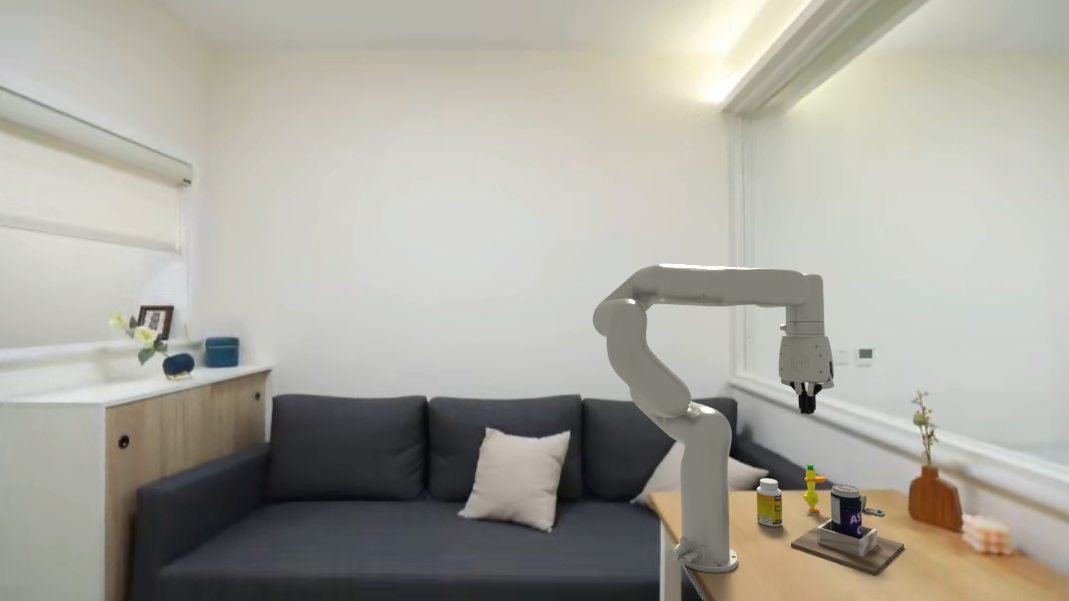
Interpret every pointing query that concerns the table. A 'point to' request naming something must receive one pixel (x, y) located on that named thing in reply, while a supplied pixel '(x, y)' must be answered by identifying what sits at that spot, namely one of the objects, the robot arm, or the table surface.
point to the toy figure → (812, 487)
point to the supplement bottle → (769, 503)
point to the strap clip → (870, 510)
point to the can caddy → (849, 547)
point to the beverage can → (846, 510)
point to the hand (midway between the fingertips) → (807, 413)
